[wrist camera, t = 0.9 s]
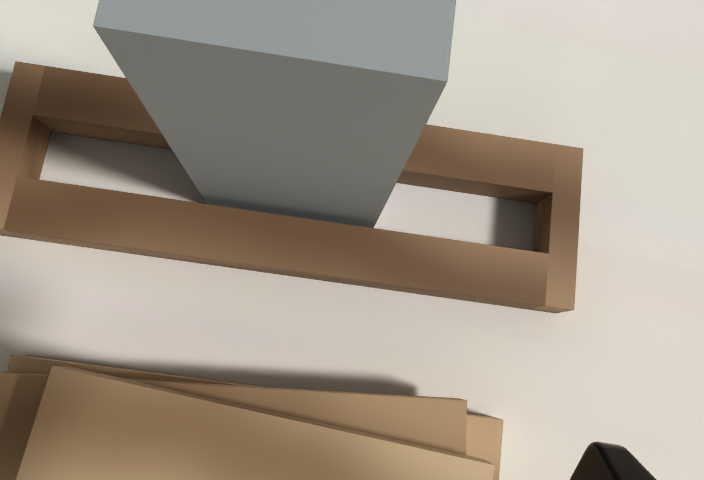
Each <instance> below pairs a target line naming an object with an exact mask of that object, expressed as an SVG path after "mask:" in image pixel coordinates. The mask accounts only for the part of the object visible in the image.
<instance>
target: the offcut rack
mask: <svg viewBox="0 0 704 480" xmlns="http://www.w3.org/2000/svg"><path fill="white" fill-rule="evenodd" d="M51 131H54V132H60V133H67V134H74V135H80V136H87V137H94V138H101V139H107V140H114V141H121V142H127V143H134V144H141V145H148V146H154V147H161V148H168V149H171V147H170V146H169V144H168V143H167V141H166V139H165V138H164V136H163V135H162V133H161V132H160V130H159V128H158V127H157V125H156V124H155V122H154V121H153V119H152V117H151V116H150V114H149V113H148V111H147V110H146V108H145V106H144V105H143V103H142V102H141V100H140V99H139V97H138V95H137V94H136V92H135V91H134V89H133V88H132V86H131V85H130V83H129V81H128V80H127V78H121V77H114V76H108V75H101V74H94V73H88V72H81V71H75V70H68V69H62V68H55V67H49V66H42V65H36V64H29V63H23V62H15V66H14V69H13V73H12V77H11V81H10V84H9V88H8V92H7V96H6V99H5V103H4V107H3V111H2V114H1V118H0V235H3V236H10V237H17V238H24V239H31V240H38V241H45V242H53V243H60V244H67V245H74V246H81V247H88V248H95V249H102V250H110V251H117V252H124V253H131V254H138V255H145V256H152V257H159V258H166V259H174V260H181V261H188V262H195V263H202V264H209V265H216V266H223V267H231V268H238V269H245V270H252V271H259V272H266V273H273V274H280V275H288V276H295V277H302V278H309V279H316V280H323V281H330V282H337V283H345V284H352V285H359V286H366V287H373V288H380V289H387V290H394V291H401V292H409V293H416V294H423V295H430V296H437V297H444V298H451V299H458V300H466V301H473V302H480V303H487V304H494V305H501V306H508V307H515V308H523V309H530V310H537V311H544V312H551V313H560V312H565V311H571V310H574V303H575V285H576V268H577V250H578V232H579V214H580V197H581V179H582V161H583V148H576V147H570V146H563V145H557V144H550V143H544V142H537V141H531V140H524V139H518V138H511V137H505V136H498V135H492V134H485V133H479V132H472V131H466V130H459V129H453V128H446V127H440V126H433V125H427V124H426V125H425V127H424V129H423V131H422V133H421V135H420V137H419V139H418V141H417V143H416V145H415V147H414V149H413V151H412V153H411V154H410V156H409V158H408V160H407V162H406V164H405V166H404V168H403V170H402V172H401V174H400V176H399V178H398V180H397V182H396V183H403V184H410V185H417V186H423V187H430V188H437V189H443V190H450V191H457V192H464V193H470V194H477V195H484V196H490V197H497V198H504V199H511V200H517V201H524V202H531V203H537V209H536V223H535V237H534V251H526V250H519V249H513V248H506V247H499V246H492V245H485V244H478V243H471V242H464V241H457V240H451V239H444V238H437V237H430V236H423V235H416V234H409V233H402V232H395V231H388V230H382V229H375V228H368V227H361V226H354V225H347V224H340V223H333V222H326V221H319V220H313V219H306V218H299V217H292V216H285V215H278V214H271V213H264V212H257V211H250V210H244V209H237V208H230V207H223V206H216V205H209V204H202V203H195V202H188V201H182V200H175V199H168V198H161V197H154V196H147V195H140V194H133V193H126V192H119V191H113V190H106V189H99V188H92V187H85V186H78V185H71V184H64V183H57V182H50V181H44V180H39V178H40V174H41V170H42V166H43V162H44V158H45V154H46V150H47V146H48V142H49V138H50V134H51ZM502 431H503V420H502V419H498V418H495V417H490V416H482V415H474V414H467V400H463V399H459V398H442V397H425V396H409V395H392V394H375V393H358V392H341V391H324V390H308V389H291V388H274V387H262V386H254V385H247V384H239V383H231V382H224V381H216V380H209V379H201V378H193V377H186V376H178V375H171V374H163V373H155V372H148V371H140V370H133V369H125V368H117V367H110V366H102V365H95V364H87V363H80V362H72V361H64V360H57V359H49V358H42V357H34V356H23V355H11V359H10V363H9V367H8V371H7V372H0V480H499V470H500V457H501V444H502Z"/></svg>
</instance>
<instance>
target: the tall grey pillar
mask: <svg viewBox="0 0 704 480" xmlns="http://www.w3.org/2000/svg"><path fill="white" fill-rule="evenodd" d="M455 6H456V0H99V3H98V7H97V11H96V15H95V20H94V24H93V27H94V28H95V30H96V31H97V33H98V34H99V36H100V37H101V39H102V41H103V42H104V44H105V45H106V47H107V48H108V50H109V52H110V53H111V55H112V56H113V58H114V59H115V61H116V63H117V64H118V66H119V67H120V69H121V70H122V72H123V74H124V75H125V77H126V78H127V80H128V81H129V83H130V85H131V86H132V88H133V89H134V91H135V92H136V94H137V95H138V97H139V99H140V100H141V102H142V103H143V105H144V106H145V108H146V110H147V111H148V113H149V114H150V116H151V117H152V119H153V121H154V122H155V124H156V125H157V127H158V128H159V130H160V132H161V133H162V135H163V136H164V138H165V139H166V141H167V143H168V144H169V146H170V147H171V149H172V150H173V152H174V153H175V155H176V157H177V158H178V160H179V161H180V163H181V164H182V166H183V168H184V169H185V171H186V172H187V174H188V175H189V177H190V179H191V180H192V182H193V183H194V185H195V186H196V188H197V190H198V191H199V193H200V194H201V196H202V197H203V199H204V200H205V202H206V204H209V205H216V206H223V207H230V208H237V209H244V210H250V211H257V212H264V213H271V214H278V215H285V216H292V217H299V218H306V219H313V220H319V221H326V222H333V223H340V224H347V225H354V226H361V227H368V228H374V226H375V224H376V222H377V220H378V218H379V216H380V214H381V212H382V210H383V208H384V206H385V204H386V202H387V200H388V198H389V196H390V194H391V192H392V190H393V188H394V186H395V184H396V182H397V180H398V178H399V176H400V174H401V172H402V170H403V168H404V166H405V164H406V162H407V160H408V158H409V156H410V154H411V153H412V151H413V149H414V147H415V145H416V143H417V141H418V139H419V137H420V135H421V133H422V131H423V129H424V127H425V125H426V123H427V121H428V119H429V117H430V115H431V113H432V111H433V109H434V107H435V105H436V103H437V101H438V99H439V97H440V95H441V93H442V91H443V89H444V87H445V85H446V83H447V80H448V71H449V62H450V52H451V43H452V34H453V24H454V15H455Z"/></svg>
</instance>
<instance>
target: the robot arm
mask: <svg viewBox="0 0 704 480" xmlns="http://www.w3.org/2000/svg"><path fill="white" fill-rule="evenodd" d="M570 480H656V479H655V478H654V477H653V476H652V475H651V474H650V473H649V471H648V470H647V469H646V468H645V467H644V466H643V465H642V464H641V463H640V462H639V461H638V460H637V459H636V458H635V457H634V456H633V455H632V454H631V453H630V452H629V451H628V450H627V449H626V448H624V447H622V446H620V445H614V444H608V443H602V442H593V443H591V444H590V445H589V446H588V447H587V449H586V450H585V452H584V454H583V456H582V458H581V460H580V462H579V463H578V465H577V467H576V469H575V471H574V473H573V475H572V477H571V479H570Z"/></svg>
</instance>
